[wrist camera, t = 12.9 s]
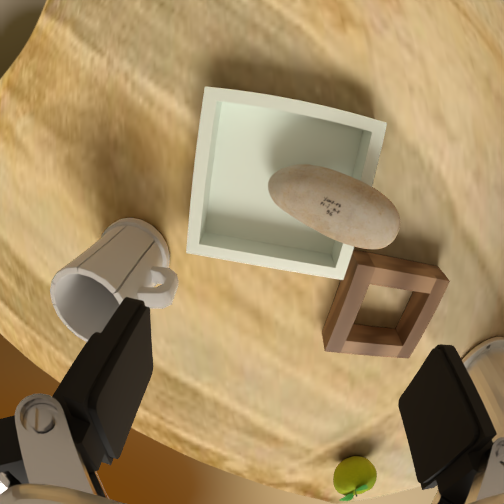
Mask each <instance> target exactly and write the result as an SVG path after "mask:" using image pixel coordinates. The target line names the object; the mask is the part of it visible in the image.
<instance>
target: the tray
mask: <svg viewBox="0 0 504 504" xmlns="http://www.w3.org/2000/svg"><path fill="white" fill-rule="evenodd" d="M386 126H387V123H386V122H382V121H379V120H376V119H372V118H369V117H365V116H362V115H358V114H355V113H351V112H347V111H343V110H339V109H335V108H331V107H327V106H323V105H318V104H314V103H309V102H305V101H300V100H295V99H290V98H284V97H279V96H273V95H267V94H261V93H254V92H248V91H240V90H233V89H224V88H215V87H205V89H204V96H203V103H202V110H201V117H200V124H199V131H198V139H197V147H196V155H195V164H194V173H193V182H192V192H191V202H190V213H189V225H188V237H187V250H186V253H189V254H195V255H201V256H206V257H212V258H217V259H223V260H229V261H234V262H240V263H246V264H251V265H257V266H263V267H269V268H274V269H280V270H286V271H292V272H298V273H304V274H309V275H315V276H321V277H327V278H333V279H339V280H344V277H345V274H346V271H347V268H348V265H349V262H350V259H351V256H352V252H353V249H354V246H350V245H347V244H344V243H341V242H339V241H336V240H334V239H331V238H329V237H327V236H325V235H323V234H322V233H320V232H318V231H316V230H314V229H313V228H311V227H309V226H307V225H305V224H303V223H302V222H300V221H299V220H297V219H295V218H294V217H292V216H291V215H290V214H288V213H287V212H285V211H283V210H282V209H281V208H280V207H278V206H277V205H276V204H275V203H274V201H273V200H272V198H271V196H270V194H269V191H268V182H269V179H270V177H271V176H272V175H273V174H274V173H275V172H277V171H278V170H280V169H282V168H285V167H288V166H291V165H297V164H310V165H315V166H321V167H325V168H329V169H333V170H335V171H338V172H341V173H343V174H346V175H348V176H351V177H353V178H355V179H357V180H360V181H362V182H364V183H365V184H367V185H369V186H371V187H372V184H373V180H374V177H375V173H376V169H377V165H378V161H379V157H380V152H381V148H382V144H383V140H384V135H385V131H386Z"/></svg>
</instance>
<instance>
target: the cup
mask: <svg viewBox="0 0 504 504" xmlns="http://www.w3.org/2000/svg"><path fill="white" fill-rule="evenodd" d="M169 260H170V254H169V250H168V246H167V243H166V242H165V240H164V238H163V236H162V235H161V233H159V232H158V231H157V230H156V229H155V228H154V227H153V226H152V225H151V224H149V223H147V222H145V221H143V220H140V219H136V218H123V219H120V220H118V221H116V222H114V223H112V224H111V225H110V226H109V227H108V228H107V229H106V230H105V231H104V233H103V234H102V236H101V239H99V240H98V241H97V242H96V243H95V244H93V245H92V246H91V247H90V248H88V249H87V250H86V251H85V252H83V253H82V254H81V255H79V256H78V257H77V258H75V259H74V260H73V261H71V262H70V263H69V264H67V265H66V266H65V267H63V268H62V269H61V270H59V271H58V272H57V273H56V275H55V276H54V278H53V279H52V282H51V289H50V293H51V299H52V303H53V306H54V308H55V310H56V313H57V315H58V316H59V318H60V319H61V320H62V322H63V323H64V324H65V326H66V325H68V324H69V325H68V326H67V328H68V329H69V330H71V331H72V332H73V333H74V334H75V335H76V336H78V337H79V338H81V339H83V340H84V341H86V342H87V341H88V340H89V338H90V337H91V336H92V334H93V333H95V332H99V333H101V332H102V331H103V329H104V327H105V326H106V324H107V323H108V321H109V320H110V318H111V317H112V316H113V314H114V313H115V311H116V310H117V308H118V307H119V305H120V304H121V302H122V301H123V299H124V298H125V297H129V298H134V299H138V300H142V301H144V303H145V306H147V307H149V308H162V309H163V308H165V307H167V306H169V305H171V304H172V302H173V299H174V296H175V293H176V290H177V287H178V277H177V274H176V273H175V272H174V271H172V270H171V269H170V268H168V267H169ZM158 283H159V284H162V285H160V286H158V287H156V288H155V287H153V286H155V285H157V284H158Z"/></svg>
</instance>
